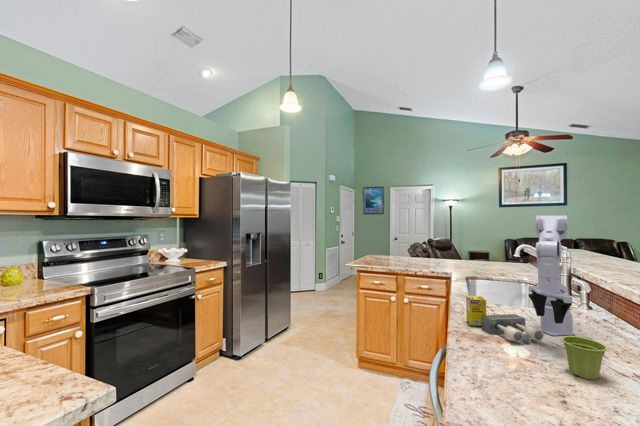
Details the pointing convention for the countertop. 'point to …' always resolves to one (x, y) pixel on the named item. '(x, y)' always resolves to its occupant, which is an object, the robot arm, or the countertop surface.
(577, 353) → the plant pot
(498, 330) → the panel
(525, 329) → the knob
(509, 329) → the knob
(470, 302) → the supplement box
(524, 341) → the potentiometer
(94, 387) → the countertop surface
